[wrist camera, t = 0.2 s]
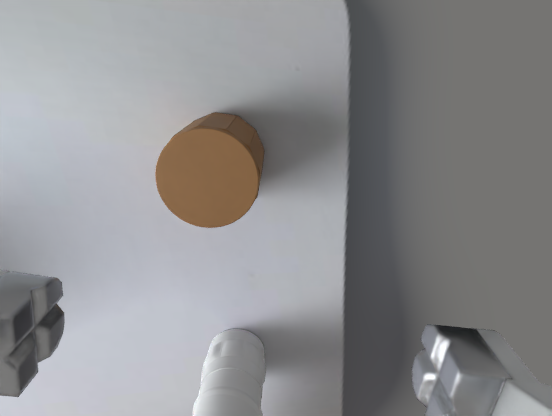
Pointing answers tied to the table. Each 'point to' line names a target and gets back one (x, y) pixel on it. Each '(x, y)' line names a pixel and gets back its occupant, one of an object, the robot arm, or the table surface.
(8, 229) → the table surface
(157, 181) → the brown cylinder
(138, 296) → the table surface
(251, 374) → the binoculars
